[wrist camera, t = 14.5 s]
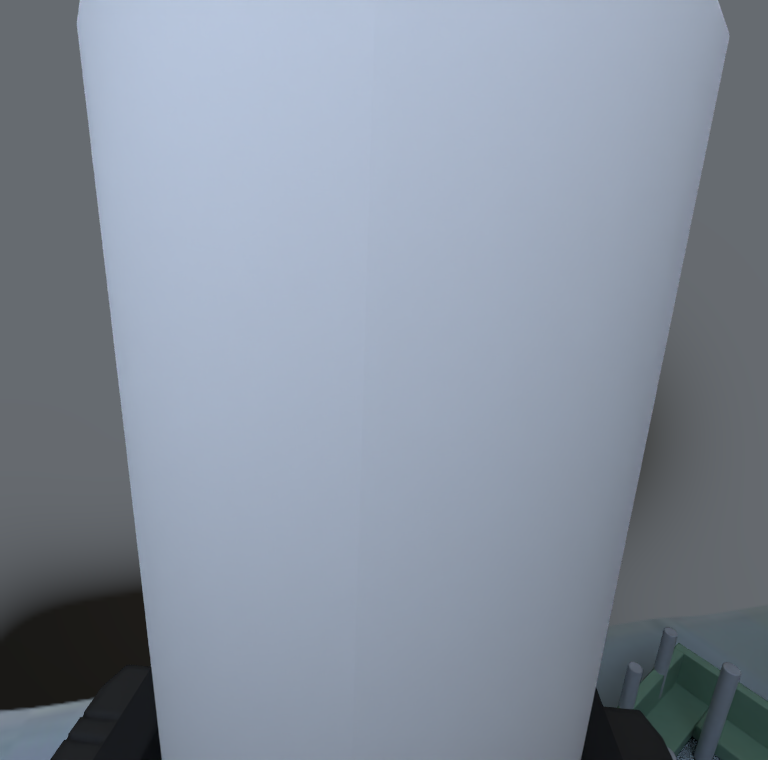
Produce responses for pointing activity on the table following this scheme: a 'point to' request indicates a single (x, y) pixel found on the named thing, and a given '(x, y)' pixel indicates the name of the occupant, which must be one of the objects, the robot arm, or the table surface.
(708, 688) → the drying rack
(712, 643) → the table surface
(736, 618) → the table surface
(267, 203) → the cylindrical container
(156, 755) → the robot arm
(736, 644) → the table surface
